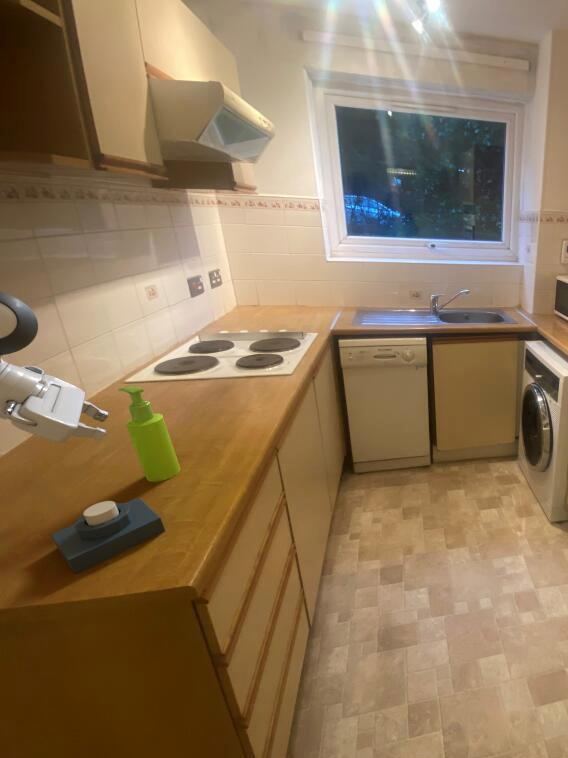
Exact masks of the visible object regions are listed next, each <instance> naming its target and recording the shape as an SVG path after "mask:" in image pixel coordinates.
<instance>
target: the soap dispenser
mask: <svg viewBox="0 0 568 758" xmlns="http://www.w3.org/2000/svg"><path fill="white" fill-rule="evenodd" d="M117 391H118V392H124V393H126V394H129V397H130V400H131V403H130V404H129V405H128V411H129V412H130V416H131V419H129V420H128V421H127V422H126V423H125V425H126V429H127V431H128V434H129V436H130V439H131V442H132V444H133V447H134V450H135V452H136V455H137V458H138V461H139V463H140V466H141V468H142V471H143V474H144V476H145V478H146V480H147V481H148V482H151V483H158V482H163V481H166V480H169V479H171V478H173V477H175V476H177V475H178V474H179V473H180V472H181V466H180V462H179V460H178V458H177V454H176V451H175V448H174V444H173V443H172V439H171V437H170V434H169V430H168V428H167V425H166V421H165V419H164V416H163V414H162V413H155V412H154V411H153V407H152V405H151V401H149V400H145V399H144V398H143V395H142V393H144V392H145V390H144V388H142V387H139V386H136V385H126V386H124V387H123V386H122V387H119V388H117Z"/></svg>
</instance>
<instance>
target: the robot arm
mask: <svg viewBox="0 0 568 758" xmlns="http://www.w3.org/2000/svg"><path fill="white" fill-rule="evenodd" d="M38 332H39V322H38V318H37V316H36V314H35V313H34V310H32V308H30V307H29V305H27V303H25V302H23V301H22V300H20V299H19V298H17V297H15V296H14V295H13V296H12V295H11V294H8V293H5V292H2V291H0V419H2V420H9V421H10V423H11V424H12V426H14V427H15V428H17V429H19V430H21V431H24V432H26V433H28V434H31V435H34V436H36V437H40V438H41V439H45V440H48V441H49V442H54V443H60V444H61V443H63V444H64V443H66V442H67V441H68V440H69V439H70V438H71V437H72V436H73V437H76V438H88V439H93V440H95V441H99V442H100V441H102V440H103V439H105V437H106V435H107V430H106V429H104V428H102V427H99V426H96V427H93V426H89V425H86V424H85V423H83V422H80V420H81V415H82V414H85V415H87V416H89V417H91V418H92V419H93V420H94V421H98V422H100V423H103V422H105V421H106V420H107V418H108V417H109V412H108V411H106V410H103V409H101V408H99V407H97V405H95V404H93V403H91V402H89V401H87V400H85V397H86V392H85V391H84V390H82V389H81V388H79V387H78V386H76V385H73V384H71V383H69V382H66V381H64V380H62V379H60V378H58V377H55V376H53V375H51V374H46V373H45V370H43V369H42V368H40V367H38V366H36V365H35V366H34V365H25V366H19V365H15V364H12V363H10V362H7V361H4V360H3V356H5V355H11V354H14V353H17V352H19V351H21V350H23V349H25V348H26V347H29V345H30V344H32V343H33V341H34V340H35V339H36V337H37V335H38Z"/></svg>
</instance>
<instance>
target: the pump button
mask: <svg viewBox="0 0 568 758" xmlns="http://www.w3.org/2000/svg"><path fill="white" fill-rule="evenodd" d="M115 503H116V502H115V501H112V500H105V501H101V502H98V503H95V504H93V505H91V506H89V507H88V508H86V509H85V510H84V511H83V513H82V516H84V517H85V519H86V521H87V523H88V525H90V526H94V525H99V524H103V523H105V522H107V521H110V520H112V519H113V518H115V517H116V516H118V515H119V511H118V509H117V506H116V504H115Z"/></svg>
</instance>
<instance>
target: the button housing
mask: <svg viewBox="0 0 568 758" xmlns="http://www.w3.org/2000/svg"><path fill="white" fill-rule="evenodd" d="M115 504H116V506H117V509H118V511H119V515H118V516H116V517H115V518H113V519H112V520H110V521H107V522H105V523H103V524H99V525H94V526H90V525H88V523H87V521H86V519H85V517H84V515H82V516H80V517H79V518H78V519H77V520H76V522H75V523H74V524H72V525H70V526H66V527H65V528H62V529H60V530H57V531H55V532H53V533H51V534H50V536H51V538H52V540H53V542H54V544H55V545H56V548H57V549H58V550H59V552H60V554H61V555H62V557H63V559H64V560H65V562H66V563H67V564H68V566H69V567H70V569H71V570H72V572H73V574H74V575H78V574H81V573H82V572H84V571H86V570H88V569H90V568H93V567H95V566H97V565H98V564H101V563H102V562H104V561H108V560H109V559H111V558H113V557H115V556H117V555H119V554H121V553H123V552H126V551H128V550H129V549H131V548H134V547H136V546H138V545H140V544H142V543H144V542H146V541H148V540H151V539H152V538H154V537H156V536H158V535H160V534H162V533H165V532H166V528H165V526H164V524H163V521H162V518H161V517H160V516H159V515H158V513H156V512H155V511H154V509H152V508H151V506H149V505H148V504H146V502H145V501H144V500H143V499H142V498H140V497H136V498H134V499H132V500H129V501H126V502H125V503H123V502H122V503H120V502H119V503H118V502H115Z"/></svg>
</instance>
